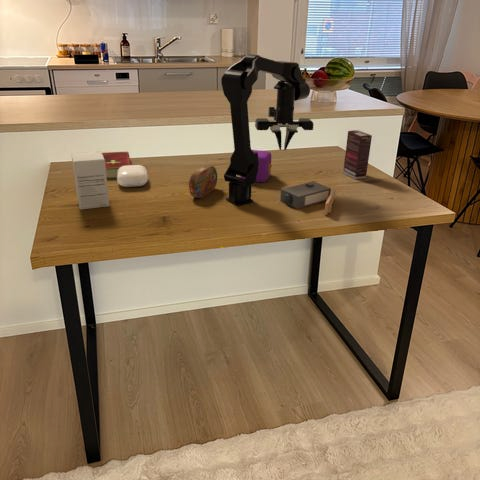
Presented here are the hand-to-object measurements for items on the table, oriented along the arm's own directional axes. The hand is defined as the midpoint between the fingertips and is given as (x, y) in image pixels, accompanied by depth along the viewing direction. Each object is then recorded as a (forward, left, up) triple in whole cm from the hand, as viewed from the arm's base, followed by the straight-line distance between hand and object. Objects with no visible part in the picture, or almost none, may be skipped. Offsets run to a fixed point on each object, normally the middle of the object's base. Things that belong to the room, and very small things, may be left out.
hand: (282, 149), depth 162 cm
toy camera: (-3, +10, -12) cm, 16 cm away
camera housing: (-4, -17, -12) cm, 21 cm away
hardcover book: (-42, +46, -13) cm, 64 cm away
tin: (-28, +6, -12) cm, 31 cm away
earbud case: (-43, +28, -12) cm, 53 cm away
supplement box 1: (-61, +17, -12) cm, 64 cm away
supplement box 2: (+29, -8, -12) cm, 32 cm away
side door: (-1, -26, -12) cm, 29 cm away
